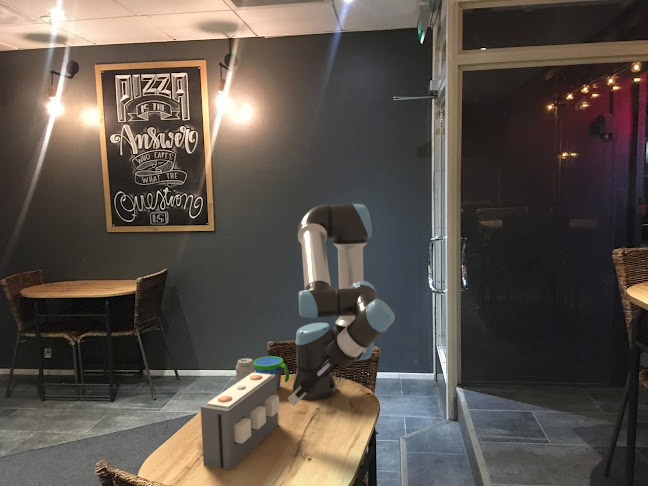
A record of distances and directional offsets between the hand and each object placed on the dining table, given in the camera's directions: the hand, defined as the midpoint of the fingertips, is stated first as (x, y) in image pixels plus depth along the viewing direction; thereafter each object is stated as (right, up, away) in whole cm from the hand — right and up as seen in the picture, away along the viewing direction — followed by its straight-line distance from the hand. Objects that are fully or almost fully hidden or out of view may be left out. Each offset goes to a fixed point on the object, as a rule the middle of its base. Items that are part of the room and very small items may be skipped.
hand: (291, 401), depth 135 cm
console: (-13, -11, -2) cm, 17 cm away
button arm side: (-6, -5, +4) cm, 8 cm away
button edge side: (-12, -6, -11) cm, 17 cm away
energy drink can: (-16, -9, +24) cm, 30 cm away
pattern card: (-13, +4, -3) cm, 14 cm away
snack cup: (-10, -8, +37) cm, 40 cm away
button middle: (-9, -5, -4) cm, 11 cm away
